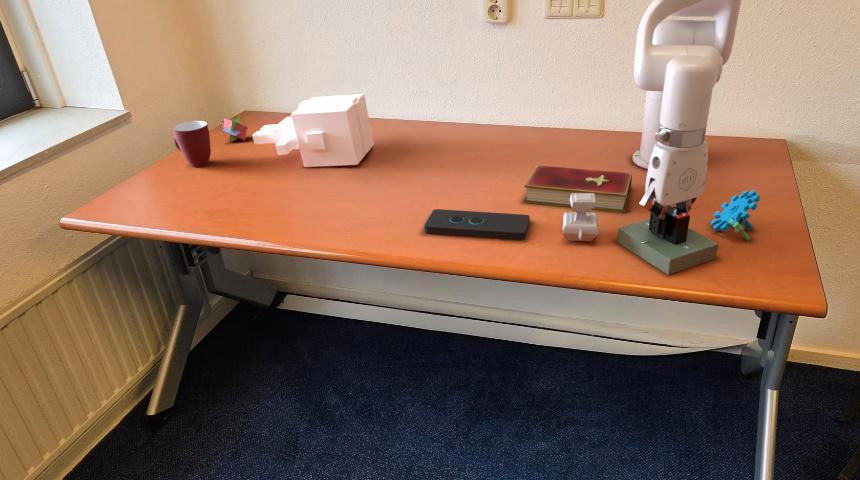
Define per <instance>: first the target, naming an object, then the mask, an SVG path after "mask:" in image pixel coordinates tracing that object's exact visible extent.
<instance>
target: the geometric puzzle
mask: <svg viewBox="0 0 860 480" xmlns="http://www.w3.org/2000/svg"><path fill="white" fill-rule="evenodd" d="M233 117H235V118H234V119H230V118H228V117H227V116H226V117H223V119H222V121H221V129H220V131H221V132H222V133H223V135H224V136H226V135H225V134H228V135H229V139H228V138H227V137H225V138H226V140H227V141H228V143H229V144H231V143H232V142H234V140H236V139H238V140H240V141H244V142H246V138H247V131H248V130H249V128H248V126H247V125H246V124H245V122H243V124H244V125H243V124H241V123H240V119H241V120H243V119H242V117H241V115H238V116H233ZM240 141H237V142H240Z"/></svg>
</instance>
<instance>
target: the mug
mask: <svg viewBox="0 0 860 480" xmlns="http://www.w3.org/2000/svg"><path fill="white" fill-rule="evenodd" d="M172 131H173V135H174V137H173V141H174V145H175V147H176V149H177V150H178V151H179V152H181V154H182V155H183V157H184V159H185V160H186V161H187V162H188V164H189V165H191V167H194V168H200V167H201V168H202V167H205V166H207V165H208V164H209V162H210V158H211V153H212V151H211V149H212V148H211V136H210V130H209V126H208V123H207V122H206V121H204V120H189V121H183V122H180V123H177V124H176V125H174V126H173V127H172Z"/></svg>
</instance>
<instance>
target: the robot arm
mask: <svg viewBox="0 0 860 480" xmlns="http://www.w3.org/2000/svg"><path fill="white" fill-rule="evenodd" d="M741 4H742V0H653V1H652V2H650V4H649V5H648V7H647V8H646V10H645V11H644V13H643V15H642V17H641V20H640V22H639V25H638V28H637V33H636V40H635V51H634V61H633V79H634V83H635V85H636V86H637V87H638V88H639V89H640V90H642V91H645V101H644V111H643V118H642V130H641V139H640V148H639V149H638V150H636V151H635V152H634V153H633V154H632V161H633V163H634V164H635V165H636V166H638V167H640V168H642V169H647V173H646V179H645V185H644V186H645V187H644V195H643V196H642V198H641V200H640V201H639V204H638V205H639V206H640V207H641V208H643V209H645V210H647V211H648V212H649V214H650V215H651V214H652V215H653V217H652V224H651V233H652V234H653V235H655V236H657V237H659V238H660V239H664V238H665V236H666V229H667V222H668V219H667V218H665V216H666V213H667V209H668V206H669V205H670V206H672V205H675V206H673V207H674V208H675V209H677V210H679V211H681V212H683V213H687V214H689V212H690V211H691V210H692V207H693V206H692V205H693V204H694V203H695V201H696V200H697V198H698V197H700V196H702V195H703V194H704V192H705V191H706V184H707V177H708V168H709V167H708V166H709V164H708V163H709V147H708V141H707V140H706V135H707V134H706V133H707V128H708V127H707V126H708V120H709V115H710V108H711V102H712V97H713V89H714V87H715V86H716V85H717V83H719V82H720V79H721V75H722V73H723V66H724V65H726V64H727V63H728V61H729V60H730V58H731V55H732V51H733V47H734V42H735V41H734V40H735V37H736V31H737V25H738V20H739V15H740V10H741ZM668 17H687V18H689V17H691V18H692V17H694V18H695V17H697V18H698V17H702V18H704V17H707V18H713V20H699V19H698V20H695V19H672V20H671V19H669V20H665V19H667V18H668ZM663 20H664V21H663ZM659 204H660V205H661V208H660V209H659V208H658V206H659Z"/></svg>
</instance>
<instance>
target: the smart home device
mask: <svg viewBox="0 0 860 480" xmlns="http://www.w3.org/2000/svg"><path fill="white" fill-rule="evenodd" d="M530 223H531V216H530V215H528V214H519V213H506V212H505V213H504V212H491V211H475V210H473V211H472V210H456V209H445V208H444V209H443V208H442V209H441V208H435V209H433V210H432V211H431V213H430V215H429V216H428V218H427V220H426V221H425V223H424V225H423V226H424V227H423V228H424V233H425V234H428V235H429V234H430V235H441V236H442V235H444V236H456V237H469V238H470V237H471V238H484V239H497V240H510V241H512V240H513V241H524V240H525V239H526V236H527V233H528V230H529V226H530Z"/></svg>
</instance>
